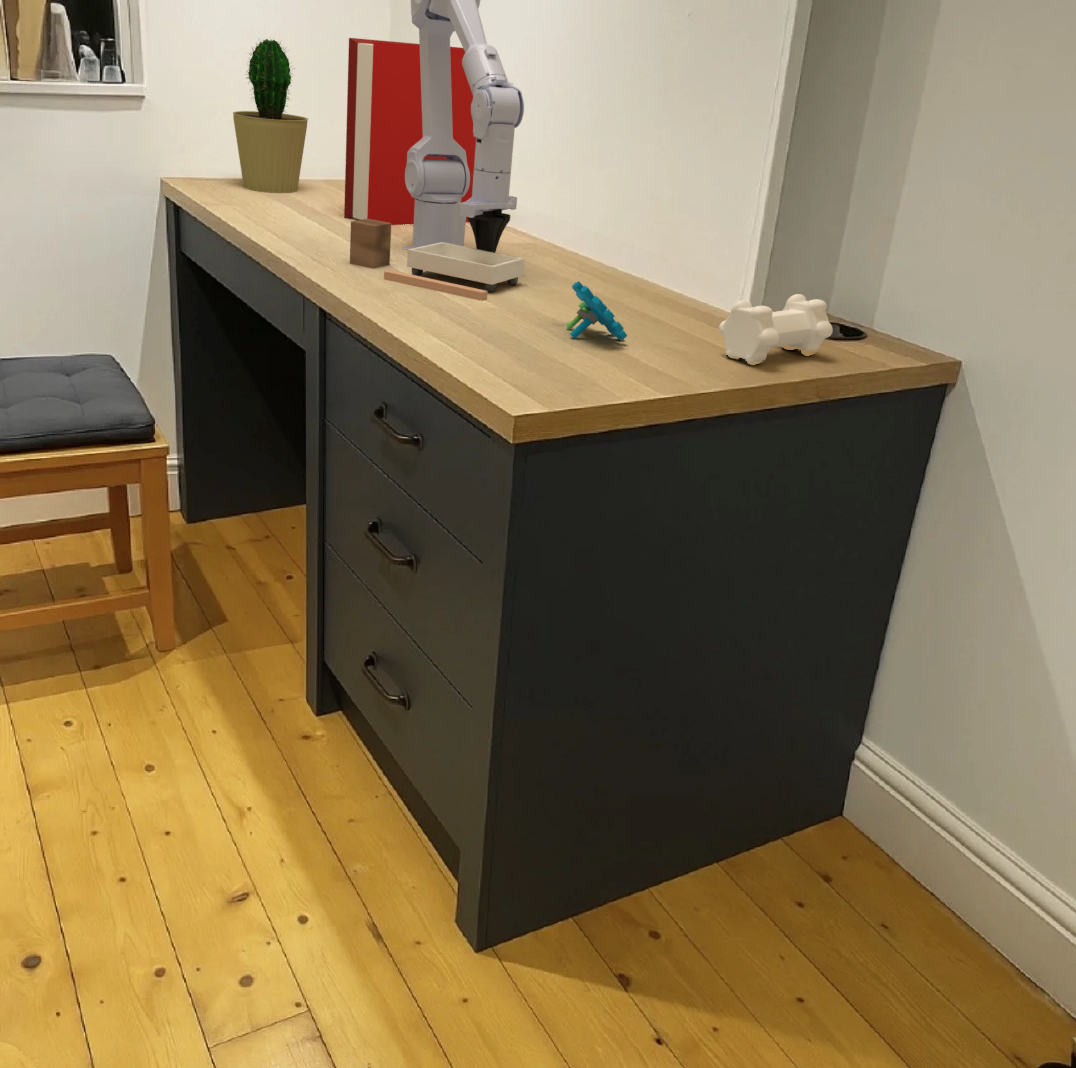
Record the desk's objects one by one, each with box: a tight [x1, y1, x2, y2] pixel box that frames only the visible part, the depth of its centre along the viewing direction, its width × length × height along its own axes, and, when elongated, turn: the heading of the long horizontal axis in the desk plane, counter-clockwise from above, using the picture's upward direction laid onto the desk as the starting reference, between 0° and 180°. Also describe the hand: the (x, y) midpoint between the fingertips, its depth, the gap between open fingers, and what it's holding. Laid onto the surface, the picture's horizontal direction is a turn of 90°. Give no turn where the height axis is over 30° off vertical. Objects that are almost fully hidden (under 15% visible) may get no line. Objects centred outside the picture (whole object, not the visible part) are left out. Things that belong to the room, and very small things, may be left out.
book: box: [343, 37, 476, 226], centre depth 213 cm, size 27×8×32 cm, turn 131°
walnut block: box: [349, 219, 392, 270], centre depth 174 cm, size 4×4×7 cm
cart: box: [406, 242, 526, 293], centre depth 171 cm, size 10×15×4 cm, turn 63°
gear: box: [566, 280, 628, 341], centre depth 148 cm, size 11×6×10 cm
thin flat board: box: [383, 269, 489, 301], centre depth 173 cm, size 23×17×2 cm
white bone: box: [718, 293, 834, 362], centre depth 148 cm, size 15×9×8 cm, turn 130°
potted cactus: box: [232, 37, 309, 194], centre depth 231 cm, size 15×15×30 cm
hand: (485, 259), depth 176 cm, fingers closed
